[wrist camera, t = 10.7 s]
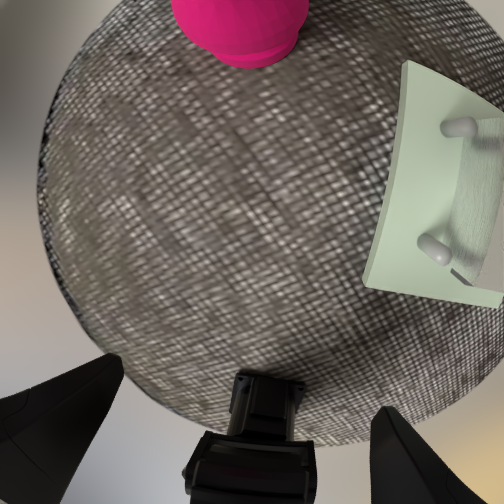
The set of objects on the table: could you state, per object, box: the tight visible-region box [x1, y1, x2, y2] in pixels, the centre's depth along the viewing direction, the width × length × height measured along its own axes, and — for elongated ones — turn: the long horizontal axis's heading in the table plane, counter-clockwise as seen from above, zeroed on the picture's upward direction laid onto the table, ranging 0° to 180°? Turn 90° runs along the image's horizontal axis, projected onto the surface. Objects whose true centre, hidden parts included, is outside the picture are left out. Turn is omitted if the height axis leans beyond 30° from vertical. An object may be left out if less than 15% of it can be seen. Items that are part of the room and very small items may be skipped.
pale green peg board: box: [362, 60, 504, 309], centre depth 13 cm, size 16×15×4 cm
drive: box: [442, 117, 504, 293], centre depth 12 cm, size 10×5×5 cm, turn 172°
